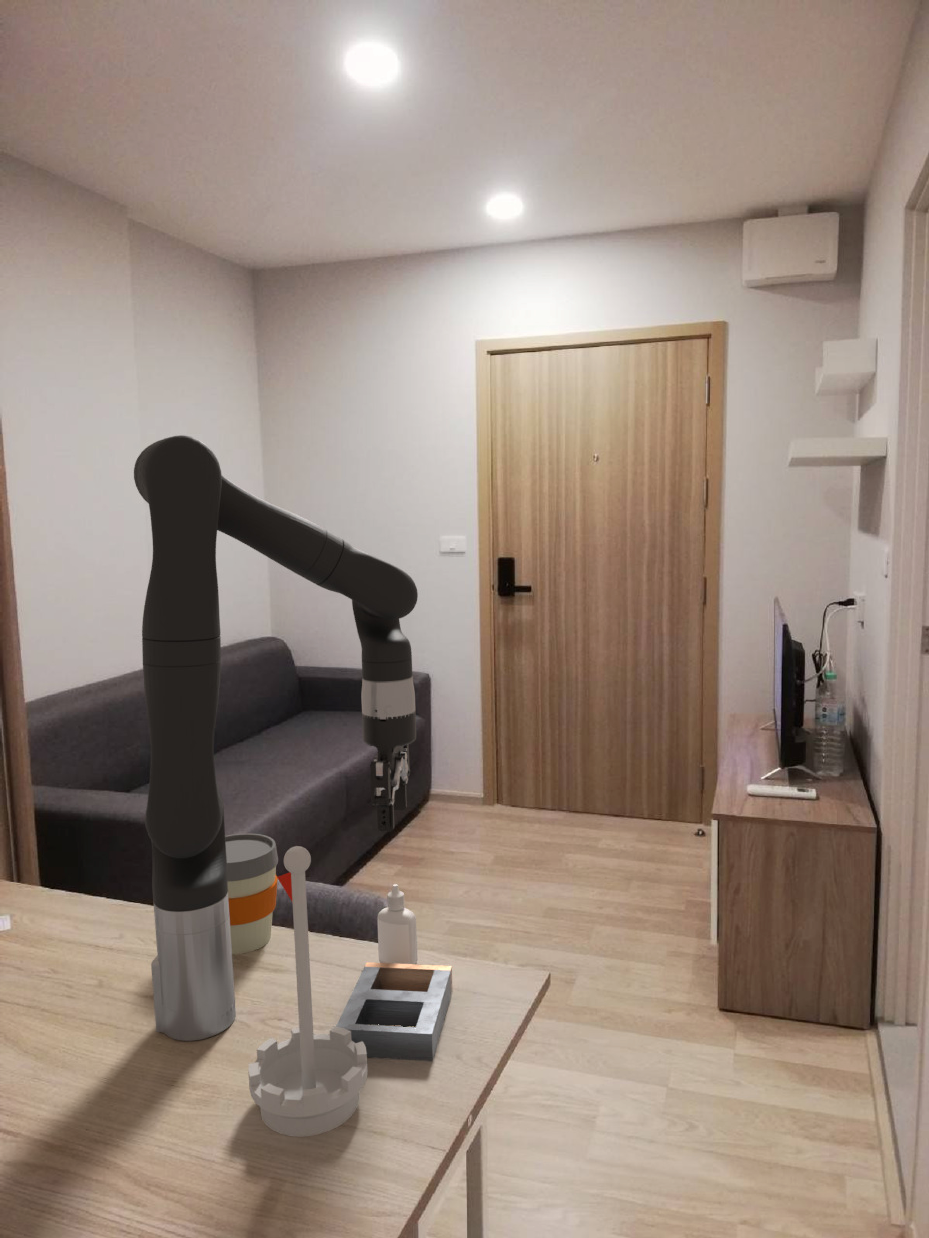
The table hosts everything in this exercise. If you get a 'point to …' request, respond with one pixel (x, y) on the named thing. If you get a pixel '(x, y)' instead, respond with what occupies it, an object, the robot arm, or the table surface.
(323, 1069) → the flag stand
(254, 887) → the reusable coffee cup
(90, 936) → the table surface
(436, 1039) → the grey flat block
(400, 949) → the eye dropper bottle
